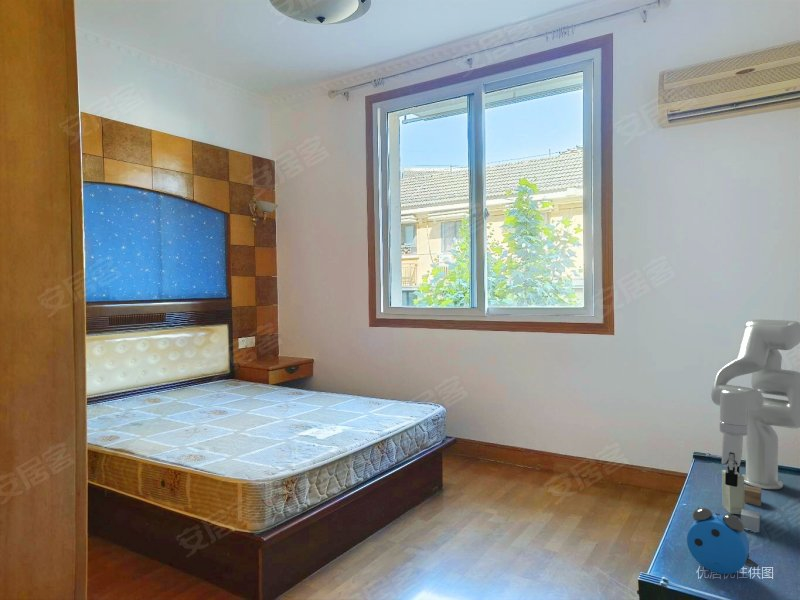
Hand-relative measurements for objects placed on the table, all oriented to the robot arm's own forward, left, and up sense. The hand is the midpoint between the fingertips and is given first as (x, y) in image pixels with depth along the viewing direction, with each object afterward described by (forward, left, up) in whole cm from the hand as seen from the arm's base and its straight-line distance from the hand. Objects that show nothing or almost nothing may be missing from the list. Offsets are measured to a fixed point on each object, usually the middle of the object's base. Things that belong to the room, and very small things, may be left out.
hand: (732, 481), depth 163 cm
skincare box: (-1, 0, -10) cm, 10 cm away
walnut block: (-12, +5, -10) cm, 16 cm away
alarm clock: (+41, -1, -10) cm, 43 cm away
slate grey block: (+10, +5, -10) cm, 15 cm away
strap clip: (+31, +4, -10) cm, 33 cm away
